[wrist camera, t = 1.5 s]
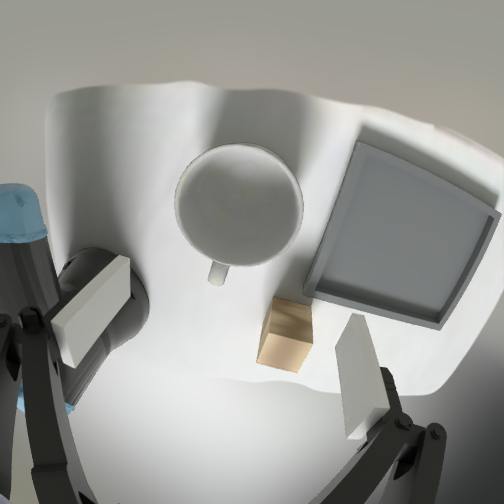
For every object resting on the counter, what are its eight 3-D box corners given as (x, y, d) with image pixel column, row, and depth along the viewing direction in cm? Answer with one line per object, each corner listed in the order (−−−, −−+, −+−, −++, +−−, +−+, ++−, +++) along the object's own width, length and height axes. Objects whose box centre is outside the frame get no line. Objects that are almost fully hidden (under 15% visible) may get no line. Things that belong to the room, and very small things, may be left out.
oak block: (262, 325, 38) (256, 362, 32) (273, 296, 36) (268, 332, 29) (297, 335, 38) (296, 372, 32) (311, 306, 36) (313, 344, 29)
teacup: (228, 121, 28) (206, 120, 21) (320, 172, 29) (329, 188, 22) (176, 229, 34) (146, 259, 26) (256, 273, 35) (246, 313, 28)
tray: (303, 286, 35) (303, 295, 33) (356, 140, 27) (360, 141, 25) (435, 323, 34) (440, 330, 33) (494, 209, 26) (501, 213, 25)
